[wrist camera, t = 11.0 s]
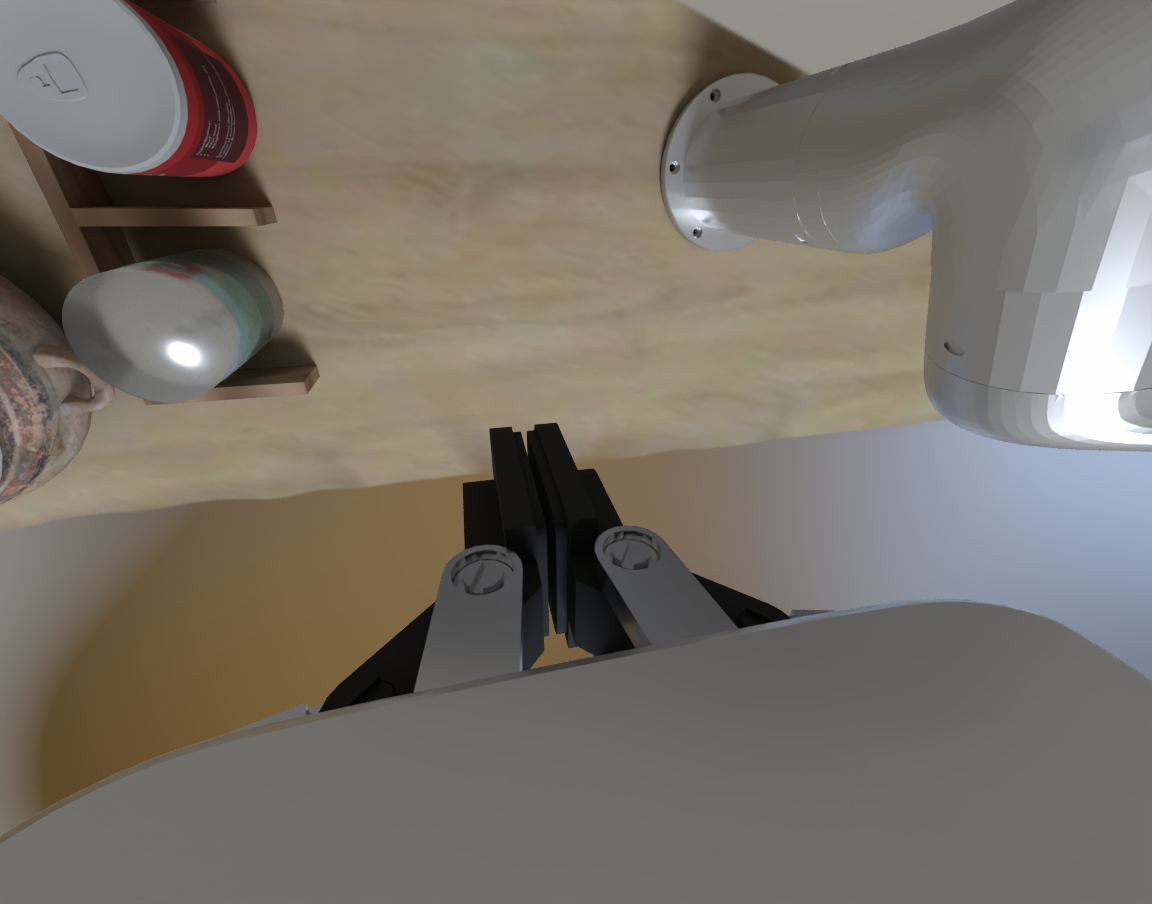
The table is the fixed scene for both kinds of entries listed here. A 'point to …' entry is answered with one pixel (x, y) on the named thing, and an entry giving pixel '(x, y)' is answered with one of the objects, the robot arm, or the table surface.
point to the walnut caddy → (105, 248)
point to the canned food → (120, 90)
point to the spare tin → (172, 322)
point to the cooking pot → (40, 395)
